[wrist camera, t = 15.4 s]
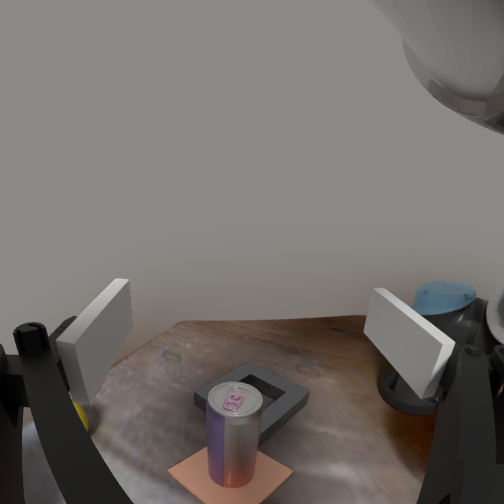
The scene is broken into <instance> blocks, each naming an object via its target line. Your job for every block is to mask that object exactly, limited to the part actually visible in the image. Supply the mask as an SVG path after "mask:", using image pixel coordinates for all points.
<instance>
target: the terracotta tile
mask: <svg viewBox="0 0 504 504" xmlns="http://www.w3.org/2000/svg"><path fill="white" fill-rule="evenodd" d="M168 473H170V474H171V475H172V476H173V477H174V478H175V479H176V480H177V481H178V482H179V483H181V484H182V485H183V486H184V487H185V488H186V489H187V490H189V491H190V492H191V493H192V494H193V495H195V496H196V497H197V498H198V499H199V500H201V501H202V502H203V503H204V504H261V503H262V502H263V501H264V500H265V499H266V498H267V497H268V496H269V495H270V494H272V493H273V492H274V491H275V490H276V489H277V488H278V487H279V486H280V485H281V484H282V483H283V482H284V481H285V480H286V479H287V478H288V477H289V476H290V475H291V474H292V473H293V470H292V469H290V468H288V467H286V466H284V465H282V464H281V463H279V462H277V461H275V460H274V459H272V458H270V457H268V456H267V455H265V454H263V453H262V452H260V451H257V457H256V464H255V470H254V476H253V478H252V480H251V481H250V482H249V483H248V484H246V485H244V486H242V487H239V488H225V487H222V486H220V485H218V484H216V483H215V482H214V481H213V480H212V479H211V478H210V476H209V472H208V452H207V446H206V447H205V448H203V449H202V450H200V451H198V452H197V453H195V454H194V455H192V456H190V457H189V458H187V459H185V460H184V461H182V462H180V463H179V464H177V465H175V466H173V467H172V468H170V469H168Z"/></svg>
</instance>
